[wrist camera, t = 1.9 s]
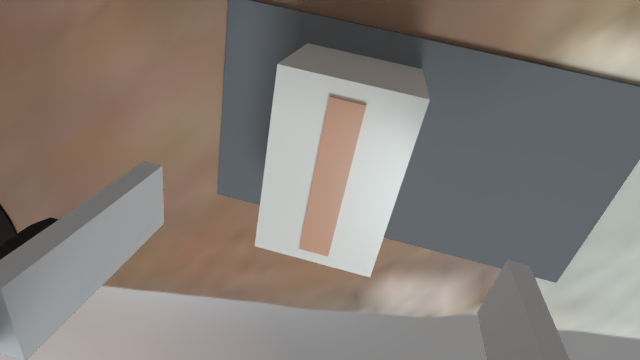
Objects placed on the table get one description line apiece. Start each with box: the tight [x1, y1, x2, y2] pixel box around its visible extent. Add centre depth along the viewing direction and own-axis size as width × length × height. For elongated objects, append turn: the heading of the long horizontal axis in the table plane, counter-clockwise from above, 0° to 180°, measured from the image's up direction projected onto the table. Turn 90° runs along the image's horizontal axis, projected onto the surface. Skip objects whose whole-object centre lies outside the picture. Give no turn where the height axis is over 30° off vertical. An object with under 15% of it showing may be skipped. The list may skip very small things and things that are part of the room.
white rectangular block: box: [255, 43, 430, 277], centre depth 21 cm, size 10×6×6 cm, turn 169°
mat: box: [218, 0, 640, 282], centre depth 23 cm, size 24×13×1 cm, turn 79°
